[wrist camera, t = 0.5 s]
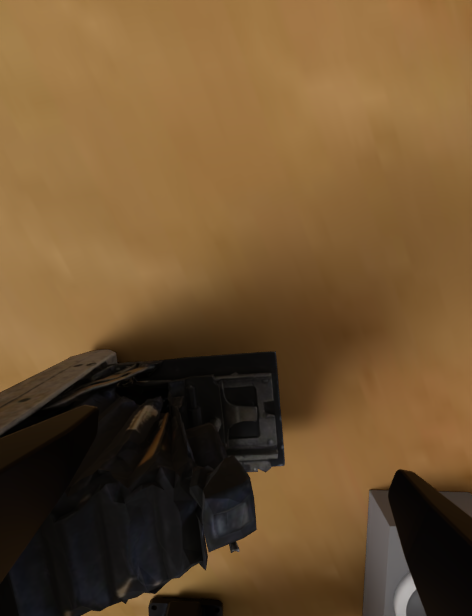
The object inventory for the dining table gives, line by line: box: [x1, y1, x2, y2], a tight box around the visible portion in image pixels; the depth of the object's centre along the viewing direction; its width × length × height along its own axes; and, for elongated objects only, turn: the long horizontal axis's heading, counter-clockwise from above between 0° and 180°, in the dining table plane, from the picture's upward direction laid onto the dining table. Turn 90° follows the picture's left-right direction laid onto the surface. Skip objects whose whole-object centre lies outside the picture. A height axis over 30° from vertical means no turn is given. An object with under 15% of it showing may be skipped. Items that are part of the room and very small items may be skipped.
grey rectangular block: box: [363, 490, 472, 616], centre depth 23 cm, size 12×8×4 cm, turn 0°
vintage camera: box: [0, 349, 285, 616], centre depth 14 cm, size 10×16×20 cm, turn 96°
